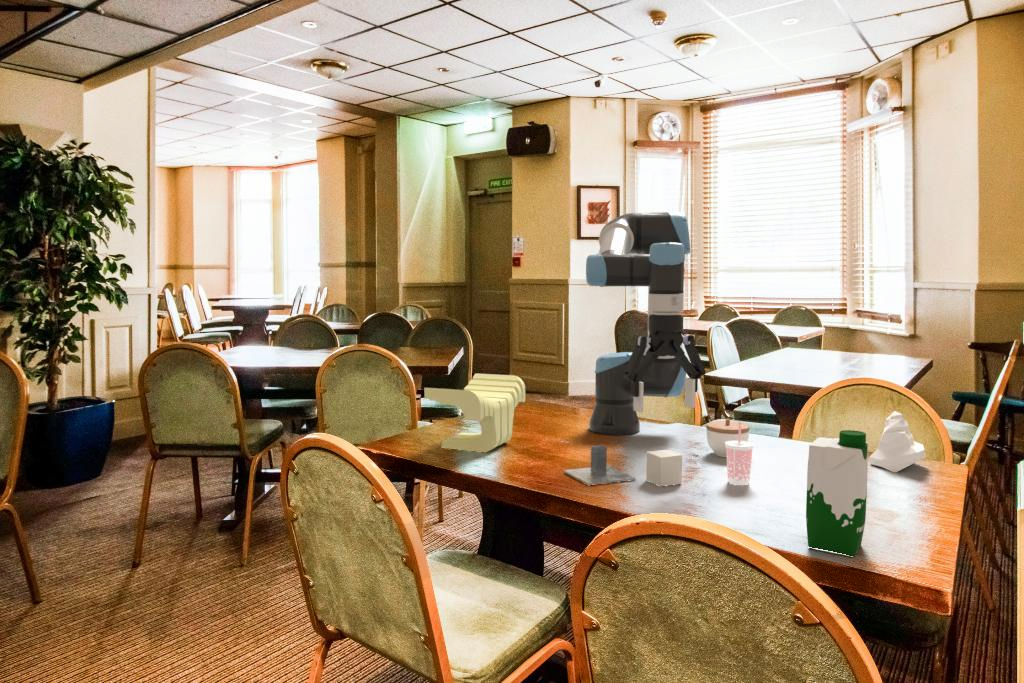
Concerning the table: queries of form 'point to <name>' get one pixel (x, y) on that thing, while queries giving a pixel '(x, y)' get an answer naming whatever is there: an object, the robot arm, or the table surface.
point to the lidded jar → (724, 435)
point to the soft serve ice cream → (897, 445)
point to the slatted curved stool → (483, 409)
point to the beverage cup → (739, 460)
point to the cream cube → (664, 467)
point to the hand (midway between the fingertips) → (664, 409)
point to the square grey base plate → (599, 469)
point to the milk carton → (837, 492)
